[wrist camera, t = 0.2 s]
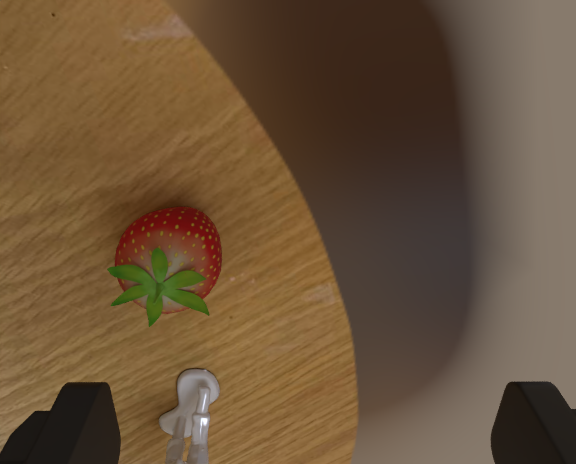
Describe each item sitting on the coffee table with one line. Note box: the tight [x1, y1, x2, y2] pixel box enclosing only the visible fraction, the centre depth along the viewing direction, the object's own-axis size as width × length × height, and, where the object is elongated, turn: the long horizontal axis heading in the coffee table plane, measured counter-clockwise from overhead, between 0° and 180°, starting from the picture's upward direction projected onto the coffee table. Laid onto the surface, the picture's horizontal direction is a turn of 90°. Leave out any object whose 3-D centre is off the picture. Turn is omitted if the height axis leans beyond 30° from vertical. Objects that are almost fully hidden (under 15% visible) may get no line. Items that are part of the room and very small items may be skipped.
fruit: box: [107, 207, 222, 327], centre depth 25 cm, size 5×5×8 cm
